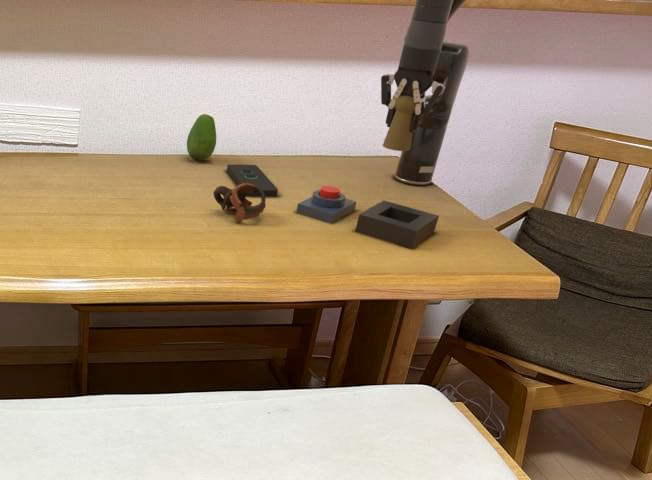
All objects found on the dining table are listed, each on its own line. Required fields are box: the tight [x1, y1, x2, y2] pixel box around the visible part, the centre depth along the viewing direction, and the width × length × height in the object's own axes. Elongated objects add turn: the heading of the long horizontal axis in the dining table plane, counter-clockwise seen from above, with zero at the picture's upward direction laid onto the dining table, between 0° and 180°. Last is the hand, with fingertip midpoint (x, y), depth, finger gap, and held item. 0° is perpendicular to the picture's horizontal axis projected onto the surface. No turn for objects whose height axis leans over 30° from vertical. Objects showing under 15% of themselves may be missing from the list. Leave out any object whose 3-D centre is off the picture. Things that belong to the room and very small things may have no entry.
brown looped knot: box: [213, 183, 267, 224], centre depth 168 cm, size 12×10×8 cm
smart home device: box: [226, 163, 279, 198], centre depth 189 cm, size 8×2×20 cm
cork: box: [382, 95, 416, 152], centre depth 164 cm, size 6×6×11 cm
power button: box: [319, 185, 341, 199], centre depth 173 cm, size 4×4×2 cm
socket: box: [354, 200, 440, 249], centre depth 166 cm, size 13×13×4 cm
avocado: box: [186, 113, 217, 162], centre depth 200 cm, size 8×8×12 cm
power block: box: [295, 189, 357, 224], centre depth 174 cm, size 12×9×4 cm
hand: (401, 128), depth 165 cm, fingers closed on cork, 4 cm apart
